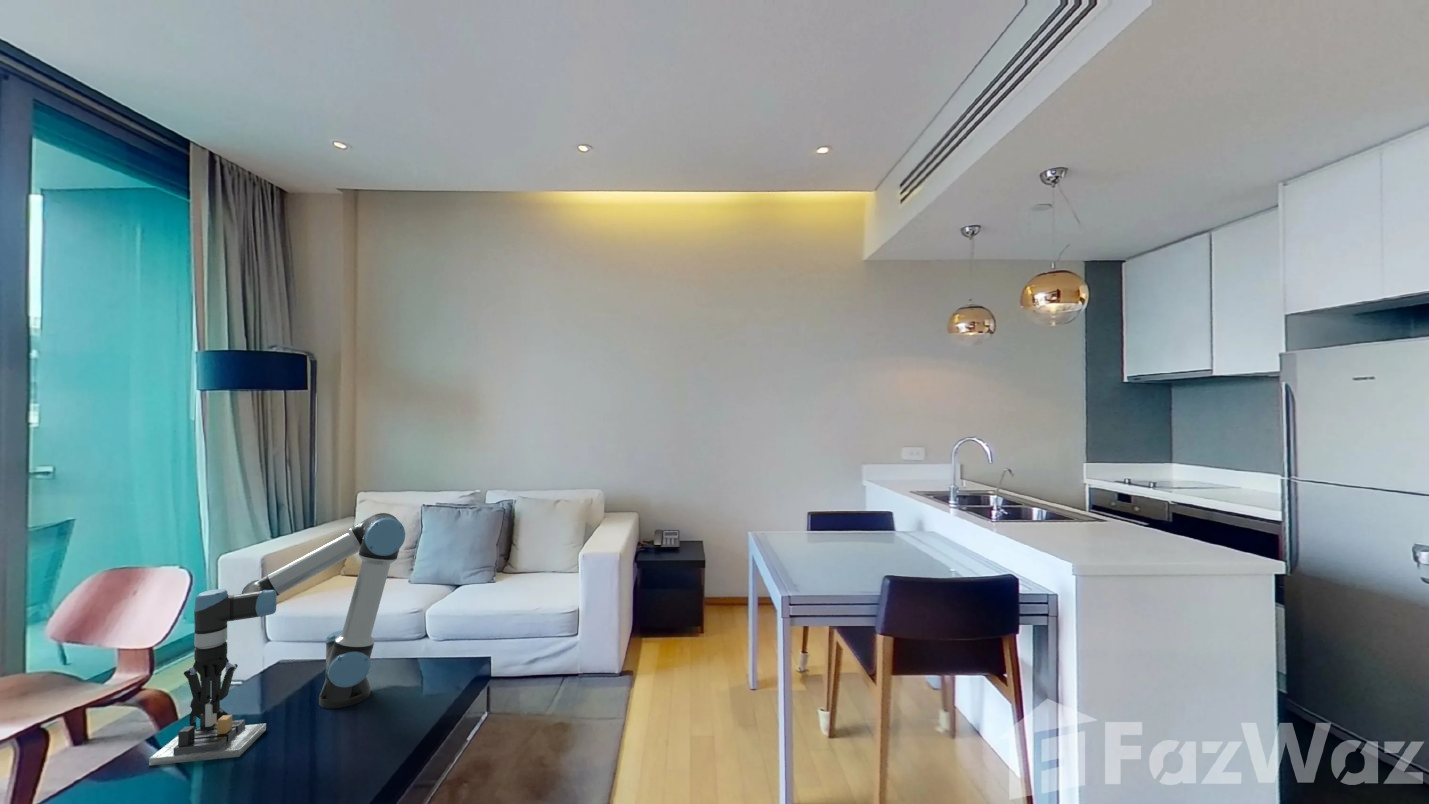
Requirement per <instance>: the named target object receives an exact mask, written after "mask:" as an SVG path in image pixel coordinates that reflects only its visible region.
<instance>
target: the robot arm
mask: <svg viewBox="0 0 1429 804" xmlns="http://www.w3.org/2000/svg"><path fill="white" fill-rule="evenodd" d="M405 540H406V530H405V526H404V525H403V523H402V522H401V521H399V520H398V519H397V517H395V516H394V515H393V514H391V513H386V512H380V513H375V514H373V515H371V516H369V517H367V518H366V519H364V520H363V521H360V522H359V523H357V524H356V525H353V526H351V527H350V528H349V529H348V532H347V533H345V534H343V535H341V536H339V537H337V538H335V539H333V540H332V541H330V542H328V543H326V544H324V545H322V546H320V547H318V548H317V549H315V550H312V551H311V552H309V553H307V554H305V555H303V556H302V557H301V556H300V557H299V558H297V559H295V560H294V561H292V562H290V563H288V564H286V565H284V566H282V567H280V568H279V569H277V570H275V571H273V572H271V573H269V574H268V575H266V576H263V577H261V578H260V579H255V580H252V581H250V582H248V583H247V584H246V585H245V586H244V588H242V590H241V593H240V594H232V595H231V594H229V593H228V590H227V589H225V588H220V589H219V588H216V589H215V588H214V589H209V590H205V591H202V592H200V593H198V594H197V595H196V596H195V598H194V610H193V612H194V614H193V615H194V619H193V620H194V622H193V623H194V640H193V641H194V642H193V643H194V647H195V648H194V652H193V654H194V655H193V656H194V662H193V664H192V667H190V668H188V669H186V670H185V671H184V672H183V675H184V676H185V678H186V679H187V681H188V685H189V689H190V692H191V695H192V699H193V700H194V702H195V703H197V702H199V703H201V704H202V714H203V715H204V714H205V727H209V726H212V725H213V724H214V723H216V722H217V712H218V711H219V710H220V708H221V705H220V704H221V701H222V700H224V699H225V698H226V697H227V696H228V695H229V692H230V687H231V683H232V681H233V677H234V673H235V671H236V670H237V668H238V666H239V665H238V664H237V663H234V664H233V663H230V662H229V661H230V660H229V659H228V641H227V640H228V622H234V621H239V620H246V619H247V620H248V619H253V618H254V619H255V618H259V617H260V618H262V617H265V616H270V615H274V614H276V612H277V601H278V600H277V598H278V596H280V595H281V594H283V593H285V592H287V591H289V590H291V589H293V588H295V587H297V586H298V585H300V584H302V583H304V582H306V581H307V580H309V579H312V578H313V577H316V575H319V574H320V573H322V572H324V571H326V570H328V569H329V568H331V567H333V566H335V565H337V564H339V563H341V562H342V561H344V560H346V559H348V558H349V557H351V556H353V555H355V554H356V553H358V557H359V558H360V559H361V564H360V567H359V570H358V575H357V576H356V581H355V585H354V589H353V591H352V594H351V595H352V596H351V600H350V603H349V607H348V610H347V614H346V616H345V617H346V618H345V620H344V621H345V622H344V625H343V628H342V630H338V631H333V632H331V633H329V634H328V635H327V636H326V642H325V680H324V683H323V685H322V689H321V690H320V693H319V698H318V705H319V706H320V707H322V708H324V709H339V708H346V707H347V708H348V707H350V706H354V705H357V704H359V703H361V702H363V701H365V700H366V699H368V698H369V697H370V696H371V684H370V682H369V680H368V674H369V672H370V670H371V667H372V666H371V664H372V663H371V656H372V652H373V648H374V646H375V640H374V638H373V637H372V634H373V630H374V626H375V621H376V619H377V614H378V611H379V607H380V603H381V600H382V596H383V592H384V589H385V586H386V583H387V578H388V573H389V570H390V567H391V564H392V563H394V562H395V561H397V559H398V556H399V552H400V549H401V548H402V546H403V545H404V542H405ZM224 669H225V670H224ZM223 671H225V674H224V676H223V680H222V675H223ZM198 674H199V675H198ZM221 680H222V681H221ZM221 683H222V684H221ZM210 700H211V701H210Z"/></svg>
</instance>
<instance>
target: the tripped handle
mask: <svg viewBox="0 0 1429 804" xmlns="http://www.w3.org/2000/svg"><path fill="white" fill-rule="evenodd" d="M232 719H233V714H229V715H223V716H222V717H221V718H220V719H218V720H217V734H225V733H227V732H228V731H230V730H231V729H232Z"/></svg>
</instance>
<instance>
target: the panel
mask: <svg viewBox="0 0 1429 804" xmlns="http://www.w3.org/2000/svg"><path fill="white" fill-rule="evenodd" d="M195 726H196V725H195ZM195 726H190V725H188V726H184V727H183V728H182V729H180V730H179V731H177V732H178V734H177V735H176V736H175V737H174V738H173V739H172V740H170V741H169V742H168V743H166V745H164V746H163V747H162V748H161V749H159V750H158V751H157V752H155V753H154V754H153V755H152V756H150V757H149V759H148V760H149V761H148V762H149V763H148V766H160V765H170V764H178V763H188V762H189V763H190V762H200V761H207V760H218V759H219V760H220V759H221V760H222V759H229V758H239V757H241V755H242V754H244V752H245V751H247V750H248V749H249V748H250V747H251V746H252V745H253V744H254V743H255V742H256V740H257V739H258V738H260V736H261V735H262V734H263V733H264V732H266V731H267V723H256V724H246V719H236V720H235V719H233V721H232V729H231V730H230V731H228V732H227V733H225V734H217V722H216V723H214V724H213V725H212V726H209V727H205V714H204V715H203V714H201V715H200V719H199V726H198V727H197V728H196V727H195Z"/></svg>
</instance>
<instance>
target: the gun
mask: <svg viewBox="0 0 1429 804" xmlns="http://www.w3.org/2000/svg"><path fill="white" fill-rule="evenodd" d="M210 701H211V699H210ZM190 708H191V711H190V714H189V720H188V721H189V726H197V724H196V723H197V722H196V720H197V718H198V719H199V720H200V715H201V714H202V704H201V703H199V702H197V703H195V702H194V700H193V698H192V700H191V701H190ZM223 715H230V714H229V713H228V712H227V711H225V710H224V709H223V708H222V707H220V710H219V711H218V712H217V720H218V719H220V718H221V717H222V716H223ZM232 721H234V719H233V718H232Z"/></svg>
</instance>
